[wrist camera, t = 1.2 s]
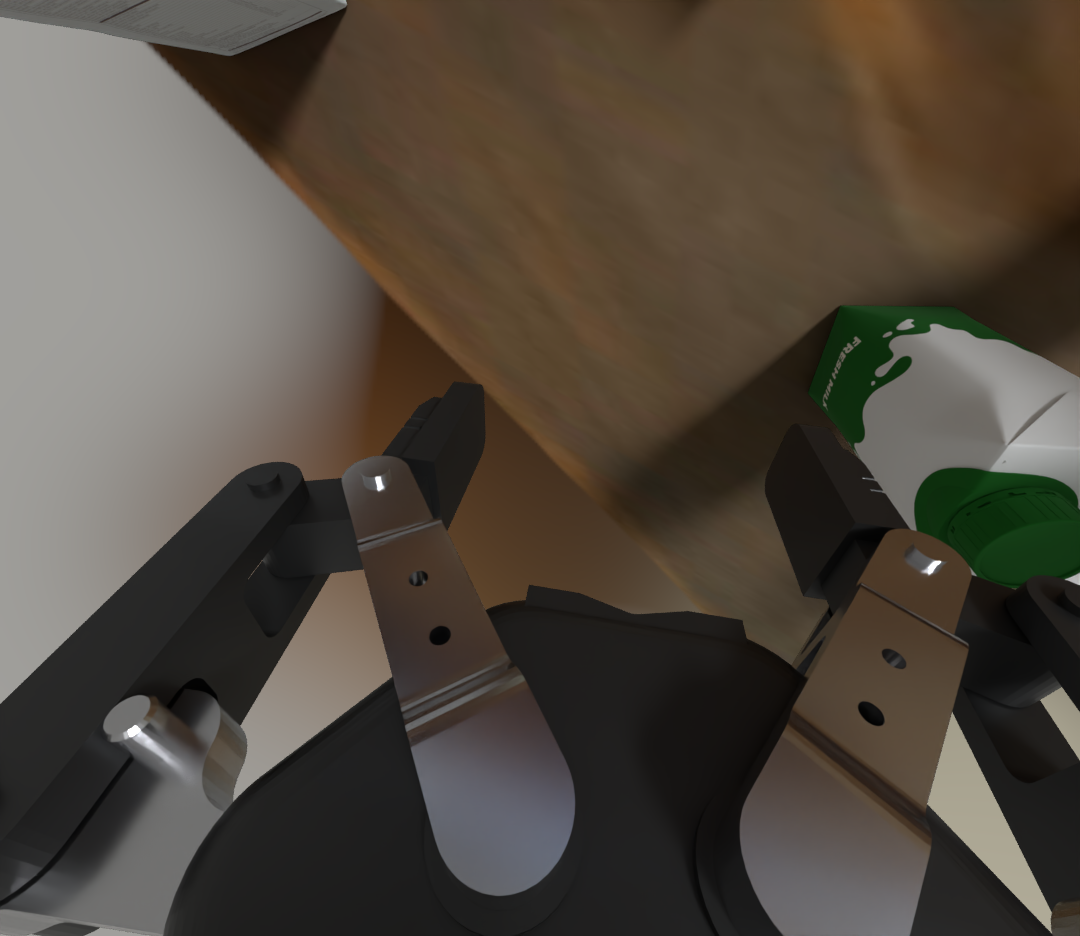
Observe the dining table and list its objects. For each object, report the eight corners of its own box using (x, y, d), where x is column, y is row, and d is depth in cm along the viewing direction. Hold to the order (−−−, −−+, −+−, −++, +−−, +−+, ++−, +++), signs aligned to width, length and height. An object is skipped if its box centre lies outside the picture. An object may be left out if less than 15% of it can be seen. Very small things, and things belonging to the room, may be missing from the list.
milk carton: (830, 291, 30) (1042, 463, 15) (978, 292, 29) (1384, 482, 13) (791, 402, 36) (916, 615, 20) (914, 408, 34) (1151, 640, 19)
